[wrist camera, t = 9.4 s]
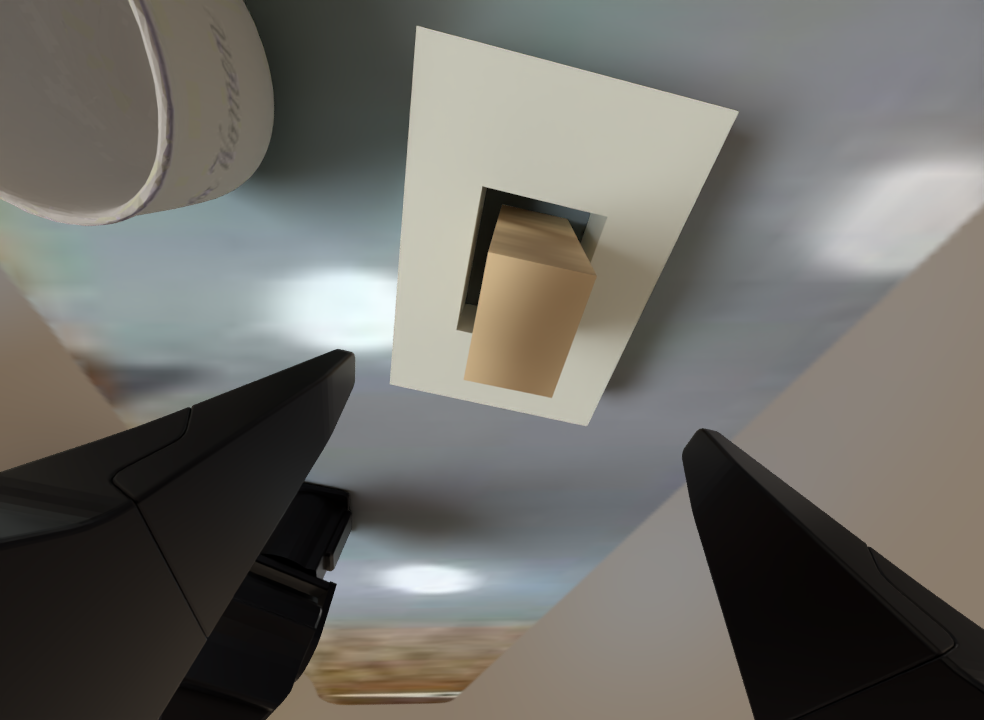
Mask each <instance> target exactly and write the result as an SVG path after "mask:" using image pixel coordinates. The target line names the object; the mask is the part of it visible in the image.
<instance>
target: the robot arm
mask: <svg viewBox="0 0 984 720" xmlns="http://www.w3.org/2000/svg"><path fill="white" fill-rule="evenodd" d="M354 383H355V355H354V353H353V352H350V351H345V350H341V349H336V350H333V351H331V352H328V353H325V354H323V355H320V356H318V357H315V358H313V359H310V360H308V361H305V362H302V363H300V364H297V365H295V366H292V367H290V368H287V369H285V370H282V371H280V372H277V373H274V374H272V375H269V376H267V377H264V378H262V379H259V380H257V381H254V382H251V383H249V384H246V385H244V386H241V387H239V388H236V389H234V390H231V391H228V392H226V393H223V394H221V395H218V396H216V397H213V398H211V399H208V400H205V401H203V402H200V403H198V404H195V405H193V406H192V409H191V408H190V407H187V408H185V409H182V410H180V411H177V412H175V413H172V414H170V415H167V416H164V417H162V418H159V419H156V420H154V421H151V422H148V423H146V424H143V425H140V426H137V427H135V428H132V429H129V430H126V431H123V432H120V433H117V434H114V435H112V436H109V437H106V438H103V439H100V440H97V441H94V442H91V443H88V444H85V445H81V446H78V447H75V448H73V449H69V450H66V451H63V452H60V453H57V454H55V455H51V456H48V457H45V458H42V459H39V460H36V461H33V462H30V463H27V464H24V465H20V466H17V467H14V468H11V469H9V470H5V471H3V472H0V720H266V719H267V718H268V717H269V716H270V715H271V713H272V712H273V711H274V710H275V709H276V708H277V707H278V706H279V705H280V704H281V703H282V702H283V701H284V700H285V698H286V697H287V696H288V694H289V693H290V692H291V689H292V687H293V684H294V682H296V681H297V680H298V679H299V677H300V676H301V675H302V673H303V672H304V670H305V668H306V667H307V665H308V663H309V661H310V659H311V657H312V656H313V653H314V651H315V649H316V647H317V644H318V642H319V639H320V637H321V634H322V631H323V627H324V624H325V621H326V618H327V614H328V611H329V608H330V604H331V601H332V598H333V595H334V591H335V588H336V585H337V584H336V583H333V582H327V581H325V580H323V577H324V575H325V573H326V571H332V570H333V569H334V568H335V566H336V564H337V561H338V559H339V557H340V555H341V552H342V550H343V548H344V545H345V543H346V541H347V538H348V536H349V534H350V531H351V529H352V513H351V511H349V494H348V493H347V492H345V491H340V490H335V489H330V488H325V487H320V486H315V485H310V484H304V483H303V482H304V480H305V478H306V477H307V475H308V474H309V472H310V470H311V469H312V467H313V465H314V464H315V462H316V460H317V459H318V457H319V456H320V454H321V452H322V451H323V449H324V447H325V446H326V444H327V442H328V440H329V439H330V437H331V435H332V433H333V431H334V429H335V426H336V424H337V422H338V420H339V418H340V415H341V413H342V411H343V409H344V407H345V404H346V402H347V400H348V398H349V396H350V393H351V391H352V389H353V386H354ZM682 461H683V466H684V471H685V476H686V482H687V487H688V492H689V497H690V503H691V507H692V512H693V516H694V519H695V523H696V526H697V530H698V533H699V536H700V539H701V542H702V546H703V550H704V553H705V556H706V560H707V563H708V566H709V570H710V573H711V576H712V580H713V583H714V586H715V590H716V593H717V596H718V599H719V603H720V606H721V609H722V613H723V616H724V619H725V623H726V626H727V629H728V633H729V636H730V639H731V643H732V646H733V649H734V653H735V656H736V659H737V663H738V666H739V669H740V673H741V676H742V679H743V683H744V686H745V689H746V693H747V696H748V699H749V703H750V706H751V709H752V713H753V716H754V719H755V720H984V629H983V628H981V627H980V626H978V625H977V624H975V623H974V622H973V621H971V620H970V619H968V618H967V617H966V616H964V615H963V614H961V613H960V612H958V611H957V610H956V609H954V608H953V607H951V606H950V605H948V604H947V603H946V602H944V601H943V600H942V599H940V598H939V597H937V596H936V595H935V594H933V593H932V592H931V591H929V590H927V589H926V588H925V587H923V586H922V585H921V584H919V583H918V582H917V581H915V580H914V579H913V578H911V577H910V576H908V575H907V574H906V573H904V572H903V571H902V570H900V569H899V568H898V567H896V566H895V565H894V564H892V563H891V562H890V561H888V560H887V559H886V558H884V557H883V556H882V555H880V554H879V553H878V552H876V551H875V550H874V549H872V548H871V547H867V545H866V543H864V542H863V541H862V540H860V539H859V538H858V537H857V536H855V535H854V534H852V533H851V532H850V531H848V530H847V529H846V528H845V527H843V526H842V525H841V524H839V523H838V522H837V521H835V520H834V519H833V518H831V517H830V516H829V515H827V514H826V513H825V512H823V511H822V510H821V509H819V508H818V507H817V506H815V505H814V504H813V503H812V502H810V501H809V500H808V499H806V498H805V497H803V496H802V495H801V494H800V493H798V492H797V491H796V490H794V489H793V488H792V487H790V486H789V485H788V484H786V483H785V482H784V481H782V480H781V479H780V478H778V477H777V476H776V475H774V474H773V473H772V472H770V471H769V470H768V469H767V468H765V467H764V466H762V465H761V464H760V463H759V462H757V461H756V460H755V459H753V458H752V457H750V456H749V455H748V454H747V453H745V452H744V451H743V450H741V449H740V448H739V447H737V446H736V445H735V444H733V443H732V442H731V441H729V440H728V439H727V438H725V437H724V436H723V435H722V434H720V433H719V432H717V431H713V430H709V429H704V428H702V429H699V430H697V431H696V433H695V434H694V435H693V437H692V438H691V440H690V441H689V442H688V444H687V445H686V447H685V448H684V450H683V453H682Z"/></svg>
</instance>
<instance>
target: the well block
mask: <svg viewBox="0 0 984 720" xmlns="http://www.w3.org/2000/svg"><path fill="white" fill-rule="evenodd" d="M738 112H739V111H736V110H732V109H728V108H724V107H721V106H717V105H713V104H709V103H706V102H702V101H698V100H694V99H691V98H687V97H683V96H679V95H676V94H672V93H668V92H664V91H660V90H657V89H653V88H649V87H645V86H642V85H638V84H634V83H630V82H627V81H623V80H619V79H615V78H612V77H608V76H604V75H600V74H597V73H593V72H589V71H585V70H582V69H578V68H574V67H570V66H567V65H563V64H559V63H555V62H551V61H548V60H544V59H540V58H536V57H533V56H529V55H525V54H521V53H518V52H514V51H510V50H506V49H503V48H499V47H495V46H491V45H488V44H484V43H480V42H476V41H473V40H469V39H465V38H461V37H457V36H454V35H450V34H446V33H442V32H439V31H435V30H431V29H427V28H424V27H420V26H417V27H416V40H415V54H414V67H413V81H412V94H411V108H410V121H409V135H408V148H407V161H406V175H405V188H404V202H403V215H402V229H401V242H400V256H399V269H398V283H397V296H396V309H395V323H394V336H393V350H392V363H391V377H390V384H391V385H396V386H401V387H406V388H410V389H415V390H420V391H424V392H429V393H434V394H438V395H443V396H448V397H452V398H457V399H462V400H466V401H471V402H476V403H480V404H485V405H490V406H495V407H499V408H504V409H509V410H513V411H518V412H523V413H527V414H532V415H537V416H541V417H546V418H551V419H555V420H560V421H565V422H569V423H574V424H579V425H584V426H587V425H588V423H589V421H590V419H591V417H592V415H593V413H594V411H595V409H596V407H597V405H598V402H599V400H600V398H601V396H602V394H603V392H604V390H605V388H606V386H607V384H608V382H609V380H610V378H611V376H612V373H613V371H614V369H615V367H616V365H617V363H618V361H619V359H620V357H621V355H622V353H623V351H624V349H625V347H626V344H627V342H628V340H629V338H630V336H631V334H632V332H633V330H634V328H635V326H636V324H637V322H638V320H639V318H640V315H641V313H642V311H643V309H644V307H645V305H646V303H647V301H648V299H649V297H650V295H651V293H652V291H653V289H654V286H655V284H656V282H657V280H658V278H659V276H660V274H661V272H662V270H663V268H664V266H665V264H666V262H667V260H668V257H669V255H670V253H671V251H672V249H673V247H674V245H675V243H676V241H677V239H678V237H679V235H680V233H681V231H682V228H683V226H684V224H685V222H686V220H687V218H688V216H689V214H690V212H691V210H692V208H693V206H694V204H695V202H696V199H697V197H698V195H699V193H700V191H701V189H702V187H703V185H704V183H705V181H706V179H707V177H708V175H709V173H710V170H711V168H712V166H713V164H714V162H715V160H716V158H717V156H718V154H719V152H720V150H721V148H722V146H723V144H724V141H725V139H726V137H727V135H728V133H729V131H730V129H731V127H732V125H733V123H734V121H735V119H736V117H737V115H738ZM487 187H488V188H492V189H496V190H500V191H504V192H508V193H512V194H516V195H520V196H524V197H528V198H532V199H537V200H541V201H545V202H549V203H553V204H557V205H561V206H565V207H569V208H573V209H577V210H581V211H585V212H590V213H591V214H590V217H589V220H588V223H587V226H586V229H585V231H584V234H583V237H582V240H581V243H580V244H581V246H582V248H583V250H584V252H585V254H586V256H587V258H588V260H589V262H590V264H591V266H592V267H593V269H594V271H595V273H596V275H597V277H596V280H595V283H594V285H593V288H592V291H591V294H590V296H589V299H588V302H587V304H586V307H585V310H584V313H583V315H582V318H581V321H580V323H579V326H578V329H577V332H576V334H575V337H574V340H573V342H572V345H571V348H570V351H569V353H568V356H567V359H566V361H565V364H564V367H563V370H562V372H561V375H560V378H559V380H558V383H557V386H556V388H555V391H554V394H553V397H552V398H549V397H544V396H540V395H535V394H530V393H525V392H520V391H515V390H510V389H505V388H501V387H496V386H491V385H486V384H481V383H476V382H471V381H466V380H464V375H465V370H466V364H467V359H468V354H469V349H470V344H471V338H472V333H473V328H474V323H475V318H476V312H477V307H478V306H475V305H471V304H466V303H465V302H466V297H467V292H468V286H469V281H470V276H471V270H472V265H473V260H474V254H475V249H476V244H477V238H478V233H479V228H480V222H481V217H482V212H483V206H484V201H485V196H486V190H487Z"/></svg>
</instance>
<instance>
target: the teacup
mask: <svg viewBox="0 0 984 720" xmlns="http://www.w3.org/2000/svg"><path fill="white" fill-rule="evenodd" d="M273 122H274V94H273V86H272V80H271V74H270V69H269V65H268V61H267V58H266V54H265V51H264V47H263V45H262V42H261V39H260V37H259V34H258V31H257V28H256V26H255V23H254V21H253V19H252V17H251V15H250V13H249V11H248V9H247V7H246V5H245V3H244V2H243V0H0V199H2V200H4V201H6V202H8V203H11V204H13V205H14V206H16V207H18V208H20V209H22V210H24V211H25V212H28V213H31V214H34V215H36V216H39V217H42V218H46V219H49V220H52V221H56V222H62V223H66V224H76V225H82V226H96V225H107V224H113V223H117V222H121V221H124V220H126V219H129V218H131V217H134V216H136V215H142V214H148V213H154V212H159V211H165V210H171V209H176V208H180V207H185V206H189V205H193V204H198V203H202V202H205V201H209V200H212V199H216V198H218V197H220V196H223V195H225V194H227V193H229V192H231V191H233V190H235V189H236V188H238V187H239V186H240V185H242V184H243V183H244V182H245V181H247V180H248V179H249V178H250V177H251V176H252V174H253V173H254V172H255V171H256V170H257V168H258V167H259V165H260V163H261V162H262V160H263V158H264V156H265V154H266V152H267V149H268V146H269V143H270V139H271V134H272V128H273Z"/></svg>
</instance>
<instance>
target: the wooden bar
mask: <svg viewBox="0 0 984 720" xmlns="http://www.w3.org/2000/svg"><path fill="white" fill-rule="evenodd" d="M596 277H597V275H596V273H595V271H594V269H593V267H592V266H591V264H590V262H589V260H588V258H587V256H586V254H585V252H584V250H583V248H582V246H581V244H580V242H579V240H578V239H577V237H576V235H575V233H574V231H573V229H572V227H571V225H570V223H569V221H568V219H565V218H561V217H557V216H552V215H548V214H543V213H539V212H535V211H530V210H526V209H521V208H517V207H513V206H508V205H504V204H502V206H501V210H500V213H499V217H498V220H497V224H496V227H495V230H494V234H493V237H492V241H491V244H490V247H489V251H488V255H487V261H486V266H485V271H484V276H483V281H482V287H481V292H480V297H479V302H478V307H477V312H476V318H475V323H474V328H473V333H472V338H471V344H470V349H469V354H468V359H467V364H466V370H465V375H464V380H466V381H471V382H476V383H481V384H486V385H491V386H496V387H501V388H505V389H510V390H515V391H520V392H525V393H530V394H535V395H540V396H544V397H549V398H552V397H553V394H554V391H555V388H556V386H557V383H558V380H559V378H560V375H561V372H562V370H563V367H564V364H565V361H566V359H567V356H568V353H569V351H570V348H571V345H572V342H573V340H574V337H575V334H576V332H577V329H578V326H579V323H580V321H581V318H582V315H583V313H584V310H585V307H586V304H587V302H588V299H589V296H590V294H591V291H592V288H593V285H594V283H595V280H596Z"/></svg>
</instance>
